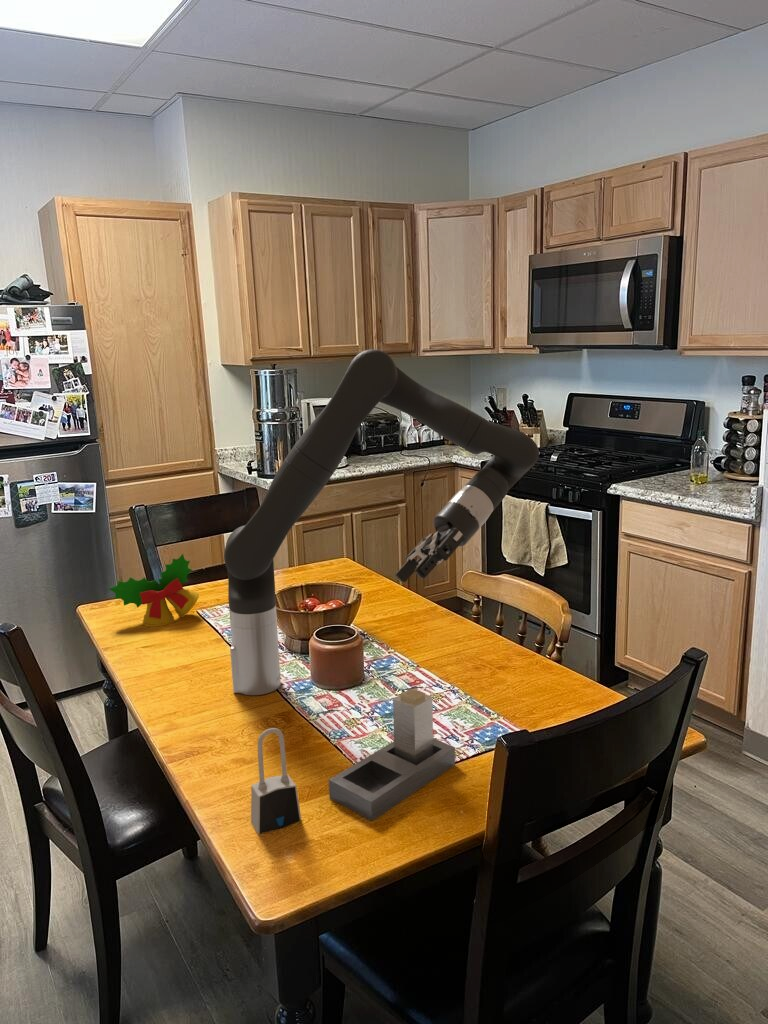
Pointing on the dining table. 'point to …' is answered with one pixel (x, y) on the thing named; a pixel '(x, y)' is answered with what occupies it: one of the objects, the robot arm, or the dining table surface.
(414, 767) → the cinder block
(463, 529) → the robot arm
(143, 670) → the dining table surface
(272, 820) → the padlock
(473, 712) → the dining table surface
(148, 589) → the ornament
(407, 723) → the grey rectangular block
